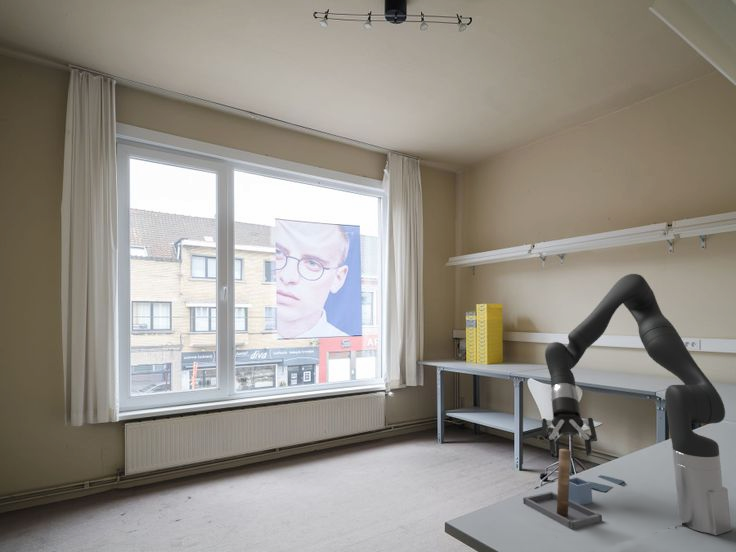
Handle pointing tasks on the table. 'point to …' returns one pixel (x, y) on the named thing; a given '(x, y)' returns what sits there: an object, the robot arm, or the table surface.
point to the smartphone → (604, 487)
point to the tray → (548, 507)
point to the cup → (580, 491)
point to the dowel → (563, 482)
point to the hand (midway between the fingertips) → (571, 454)
